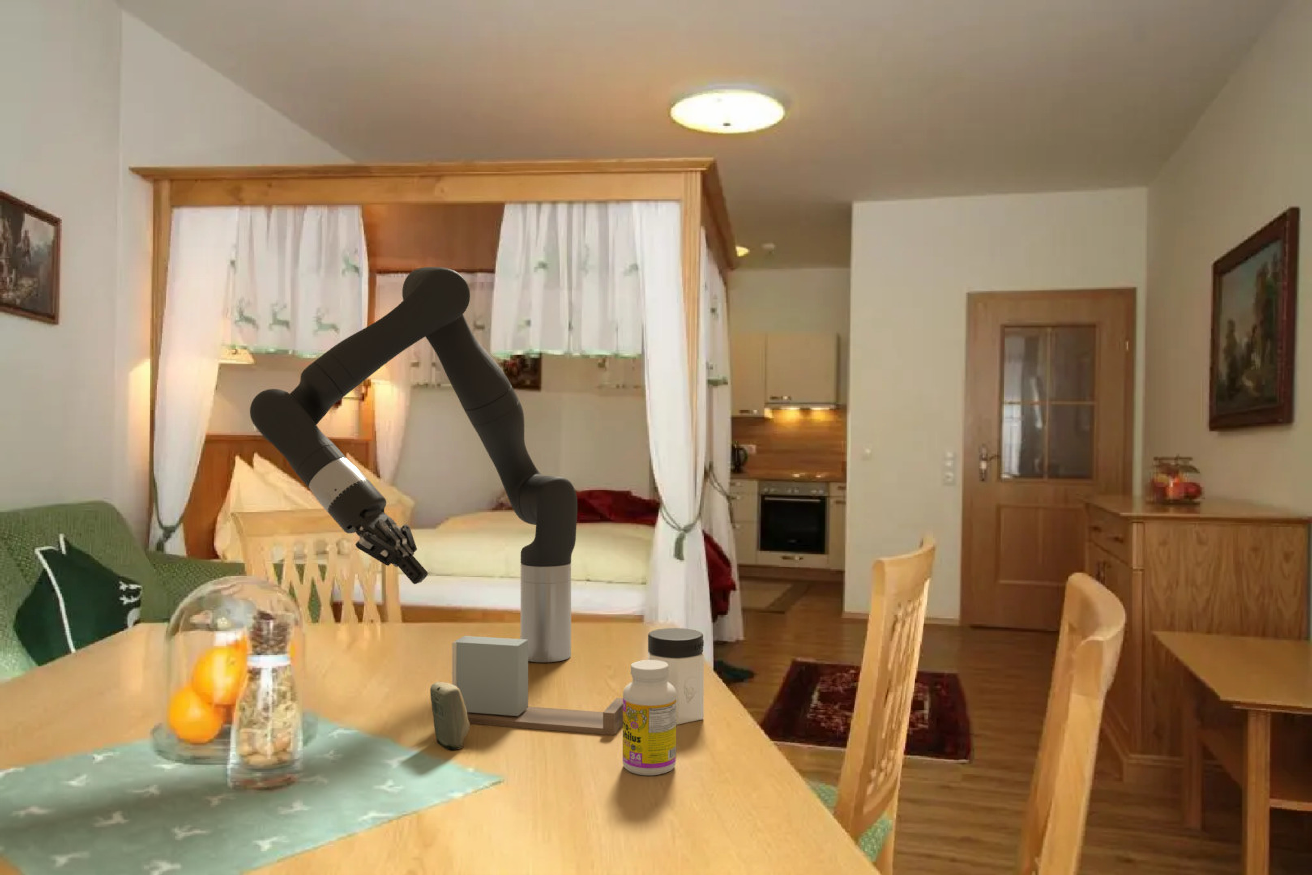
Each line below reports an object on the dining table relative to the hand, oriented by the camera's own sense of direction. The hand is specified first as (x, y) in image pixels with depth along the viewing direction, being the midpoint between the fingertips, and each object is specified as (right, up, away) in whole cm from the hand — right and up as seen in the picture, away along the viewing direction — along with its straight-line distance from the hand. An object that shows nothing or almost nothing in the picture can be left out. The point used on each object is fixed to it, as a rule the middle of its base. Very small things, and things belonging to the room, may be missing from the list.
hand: (422, 579), depth 137 cm
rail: (+16, -20, -3) cm, 26 cm away
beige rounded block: (+7, -20, -14) cm, 25 cm away
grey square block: (+10, -19, -2) cm, 21 cm away
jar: (+37, -20, -1) cm, 42 cm away
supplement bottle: (+34, -20, -22) cm, 45 cm away
